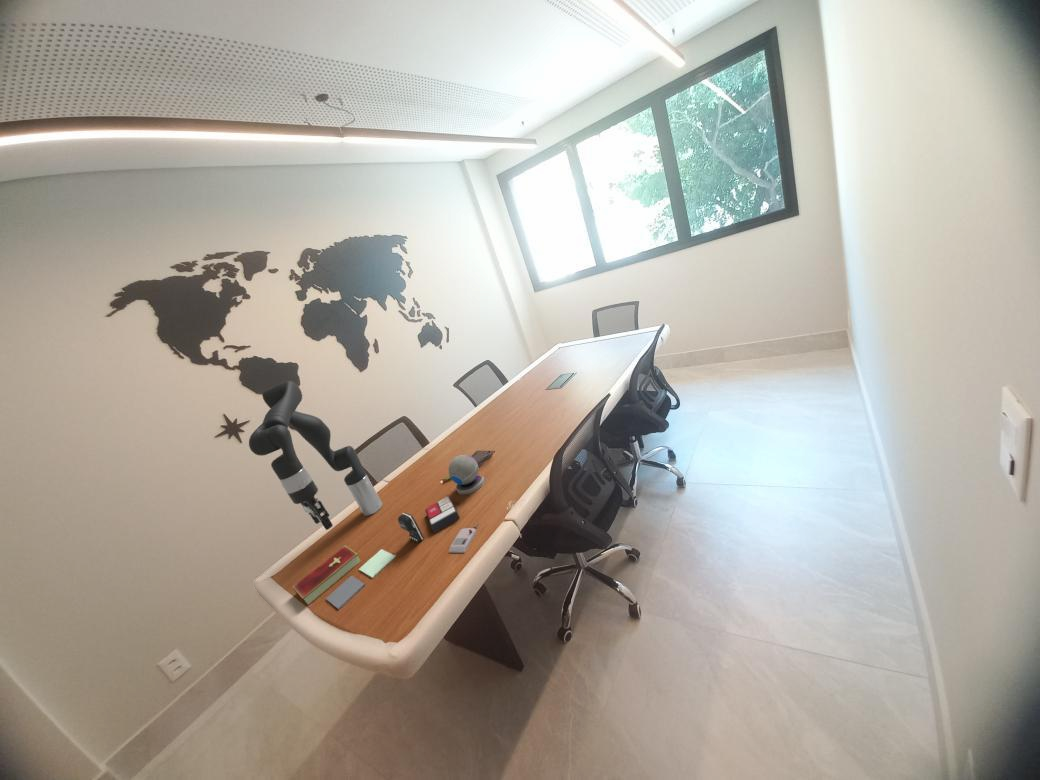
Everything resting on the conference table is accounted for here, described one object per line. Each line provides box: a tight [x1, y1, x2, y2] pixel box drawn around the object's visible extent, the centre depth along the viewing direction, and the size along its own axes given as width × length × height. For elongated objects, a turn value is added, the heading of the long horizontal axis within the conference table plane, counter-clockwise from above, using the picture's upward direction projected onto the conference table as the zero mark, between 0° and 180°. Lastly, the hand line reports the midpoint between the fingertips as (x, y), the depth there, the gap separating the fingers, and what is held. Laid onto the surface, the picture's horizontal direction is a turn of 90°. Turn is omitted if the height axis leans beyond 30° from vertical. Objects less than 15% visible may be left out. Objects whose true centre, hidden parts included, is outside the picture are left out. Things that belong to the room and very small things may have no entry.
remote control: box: [448, 521, 479, 554], centre depth 133 cm, size 7×16×3 cm, turn 160°
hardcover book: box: [292, 544, 361, 605], centre depth 139 cm, size 12×21×4 cm, turn 139°
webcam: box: [448, 453, 485, 496], centre depth 165 cm, size 13×13×15 cm
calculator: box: [424, 496, 460, 533], centre depth 151 cm, size 11×4×15 cm
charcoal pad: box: [325, 575, 366, 610], centre depth 129 cm, size 10×10×1 cm
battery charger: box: [397, 512, 425, 544], centre depth 141 cm, size 7×4×11 cm, turn 49°
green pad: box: [358, 548, 396, 579], centre depth 138 cm, size 10×10×1 cm
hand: (324, 524), depth 122 cm, fingers open, 8 cm apart
